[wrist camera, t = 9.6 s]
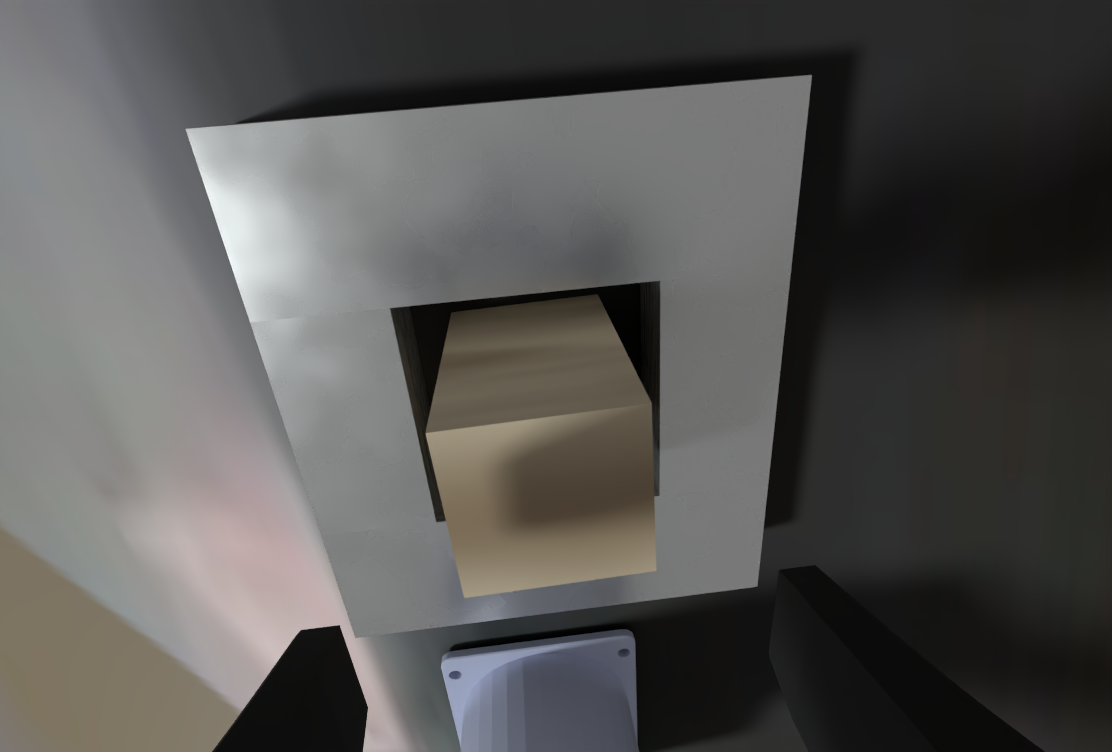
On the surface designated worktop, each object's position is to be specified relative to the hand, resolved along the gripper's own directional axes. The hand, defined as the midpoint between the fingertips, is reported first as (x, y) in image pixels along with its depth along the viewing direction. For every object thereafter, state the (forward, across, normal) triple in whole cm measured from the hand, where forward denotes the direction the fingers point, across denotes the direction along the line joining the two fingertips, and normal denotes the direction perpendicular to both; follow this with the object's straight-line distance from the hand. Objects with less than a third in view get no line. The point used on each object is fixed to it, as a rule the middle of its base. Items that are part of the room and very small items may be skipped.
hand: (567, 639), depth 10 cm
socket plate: (+10, 0, 0) cm, 10 cm away
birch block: (+10, 0, 0) cm, 10 cm away
